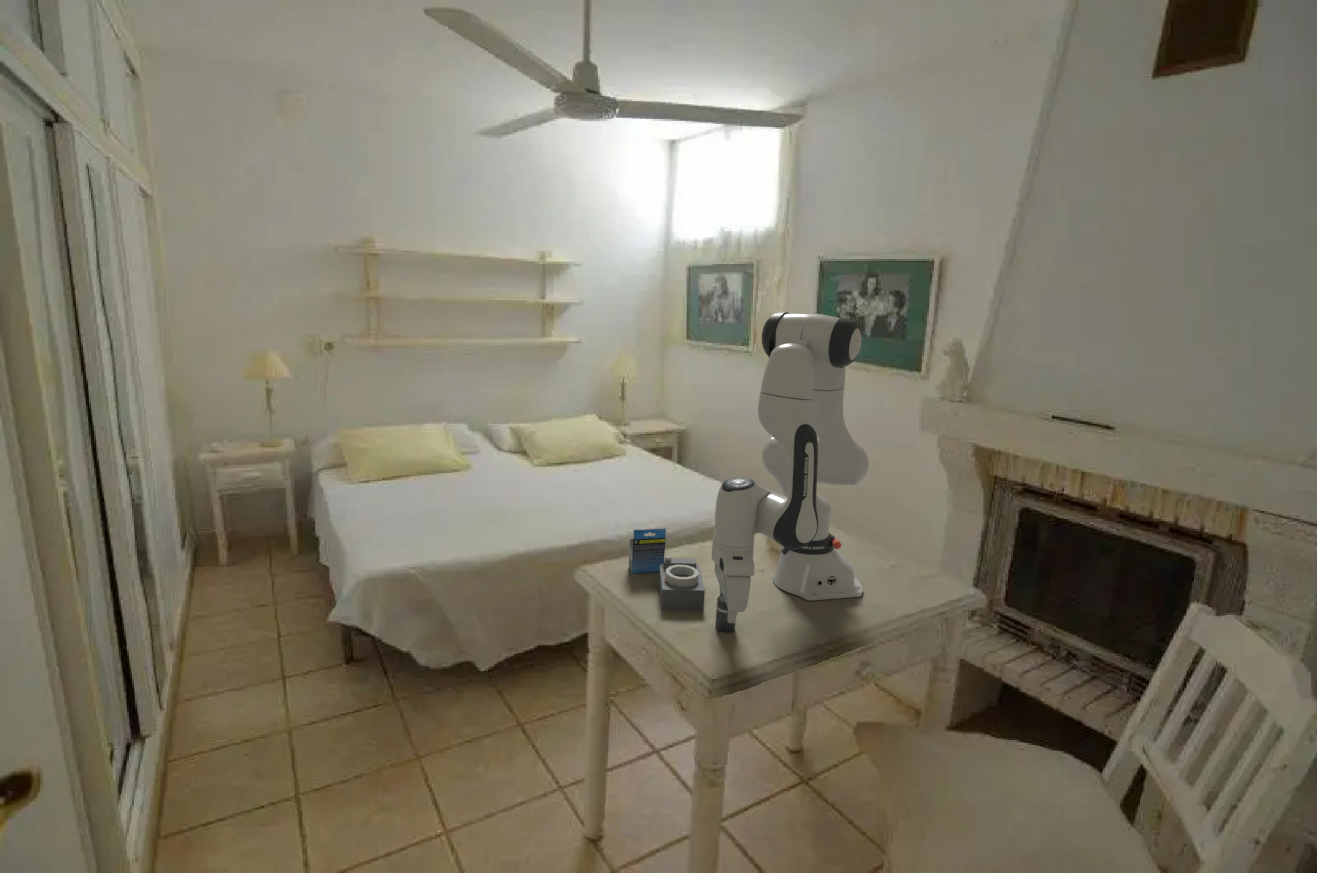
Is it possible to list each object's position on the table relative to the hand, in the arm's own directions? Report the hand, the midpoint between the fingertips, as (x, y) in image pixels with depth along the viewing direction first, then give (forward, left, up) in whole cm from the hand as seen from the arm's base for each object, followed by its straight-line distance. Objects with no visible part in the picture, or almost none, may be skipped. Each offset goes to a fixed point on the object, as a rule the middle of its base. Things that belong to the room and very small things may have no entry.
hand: (727, 610), depth 146 cm
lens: (0, -1, -5) cm, 5 cm away
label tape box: (+17, -30, -5) cm, 35 cm away
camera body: (+9, -16, -5) cm, 19 cm away
